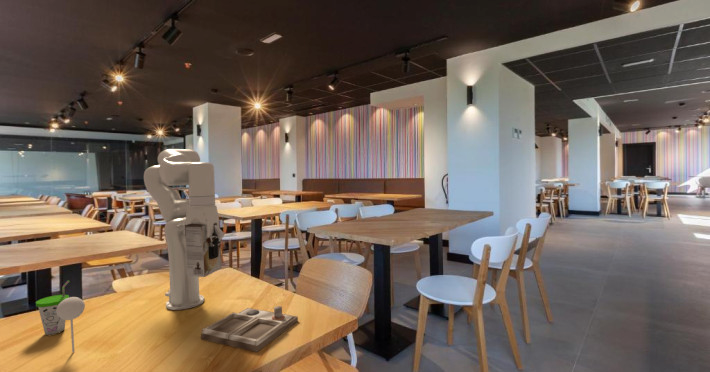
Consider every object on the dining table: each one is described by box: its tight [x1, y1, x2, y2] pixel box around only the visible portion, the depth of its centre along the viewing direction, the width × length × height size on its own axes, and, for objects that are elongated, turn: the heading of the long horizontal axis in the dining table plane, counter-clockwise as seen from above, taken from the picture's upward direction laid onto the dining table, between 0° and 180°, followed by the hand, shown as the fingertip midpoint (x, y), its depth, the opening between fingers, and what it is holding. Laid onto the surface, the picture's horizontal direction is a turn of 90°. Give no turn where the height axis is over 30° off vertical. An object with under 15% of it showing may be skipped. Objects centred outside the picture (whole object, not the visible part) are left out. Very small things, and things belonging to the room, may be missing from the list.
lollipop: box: [56, 296, 86, 353], centre depth 93 cm, size 6×6×15 cm
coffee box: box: [185, 220, 223, 278], centre depth 109 cm, size 9×6×16 cm
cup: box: [35, 280, 70, 336], centre depth 105 cm, size 8×8×15 cm
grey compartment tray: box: [200, 305, 299, 353], centre depth 104 cm, size 20×20×5 cm
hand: (204, 256), depth 109 cm, fingers closed on coffee box, 7 cm apart
